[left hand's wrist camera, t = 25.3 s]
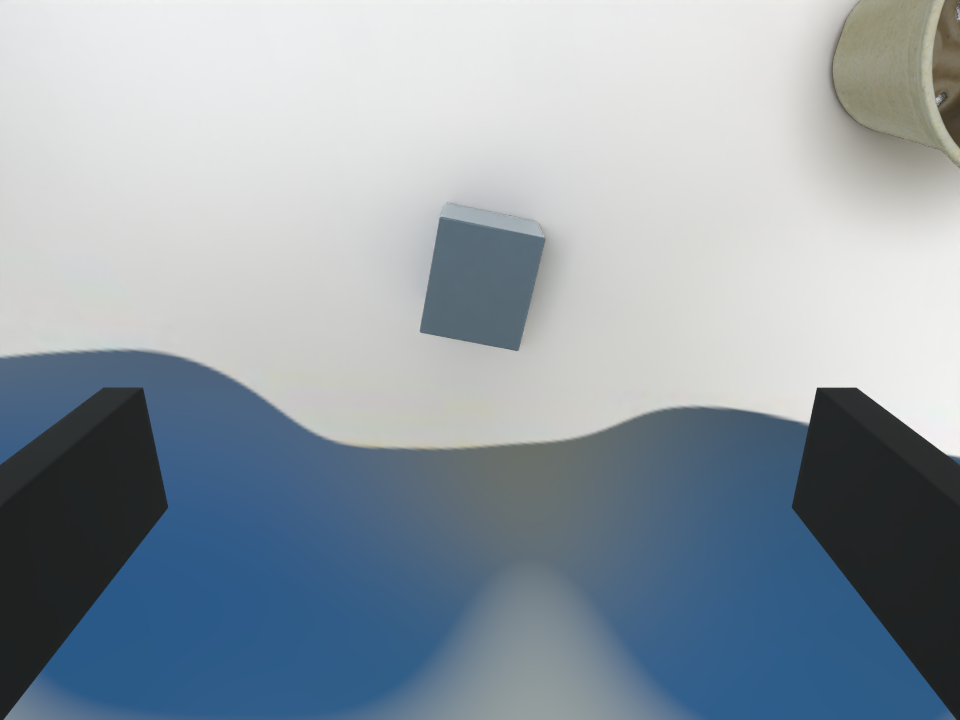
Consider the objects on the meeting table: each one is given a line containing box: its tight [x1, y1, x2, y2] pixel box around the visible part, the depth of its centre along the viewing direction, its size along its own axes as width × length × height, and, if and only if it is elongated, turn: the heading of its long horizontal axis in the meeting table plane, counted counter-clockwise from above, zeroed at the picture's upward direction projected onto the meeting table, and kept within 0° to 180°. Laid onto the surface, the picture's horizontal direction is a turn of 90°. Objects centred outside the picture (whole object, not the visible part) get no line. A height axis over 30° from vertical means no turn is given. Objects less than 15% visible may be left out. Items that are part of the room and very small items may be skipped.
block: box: [420, 203, 545, 351], centre depth 28 cm, size 5×4×4 cm
